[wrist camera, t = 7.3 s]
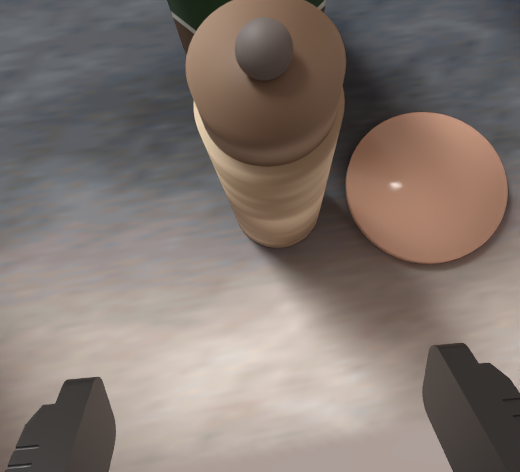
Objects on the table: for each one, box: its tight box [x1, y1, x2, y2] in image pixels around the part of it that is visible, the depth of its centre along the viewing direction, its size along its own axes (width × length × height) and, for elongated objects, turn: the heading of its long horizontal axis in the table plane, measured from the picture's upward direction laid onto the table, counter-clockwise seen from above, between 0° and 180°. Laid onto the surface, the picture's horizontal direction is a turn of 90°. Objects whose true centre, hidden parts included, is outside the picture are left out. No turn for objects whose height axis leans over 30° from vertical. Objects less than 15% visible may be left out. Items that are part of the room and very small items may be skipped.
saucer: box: [345, 112, 508, 264], centre depth 24 cm, size 8×8×1 cm
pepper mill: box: [186, 0, 346, 248], centre depth 17 cm, size 4×4×14 cm
